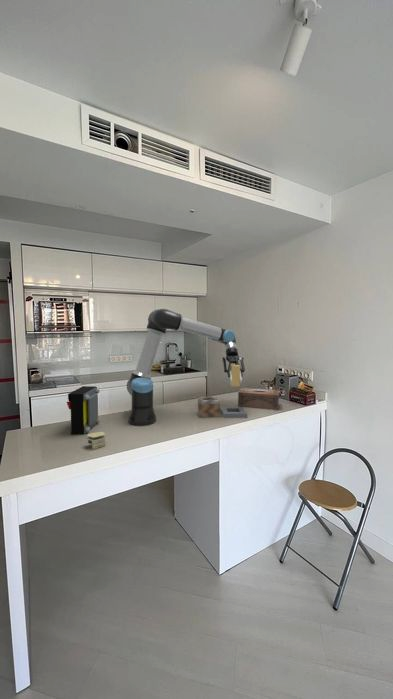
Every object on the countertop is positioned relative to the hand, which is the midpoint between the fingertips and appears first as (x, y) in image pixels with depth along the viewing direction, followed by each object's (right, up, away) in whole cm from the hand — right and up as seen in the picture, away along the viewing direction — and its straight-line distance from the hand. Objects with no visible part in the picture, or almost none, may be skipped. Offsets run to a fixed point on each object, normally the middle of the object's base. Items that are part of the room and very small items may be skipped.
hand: (236, 381), depth 171 cm
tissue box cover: (+19, -20, +25) cm, 37 cm away
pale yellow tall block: (0, -3, +4) cm, 5 cm away
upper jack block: (-16, -20, +4) cm, 26 cm away
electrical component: (-81, -22, -22) cm, 86 cm away
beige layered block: (-67, -24, -44) cm, 84 cm away
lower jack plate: (-1, -21, +5) cm, 21 cm away
